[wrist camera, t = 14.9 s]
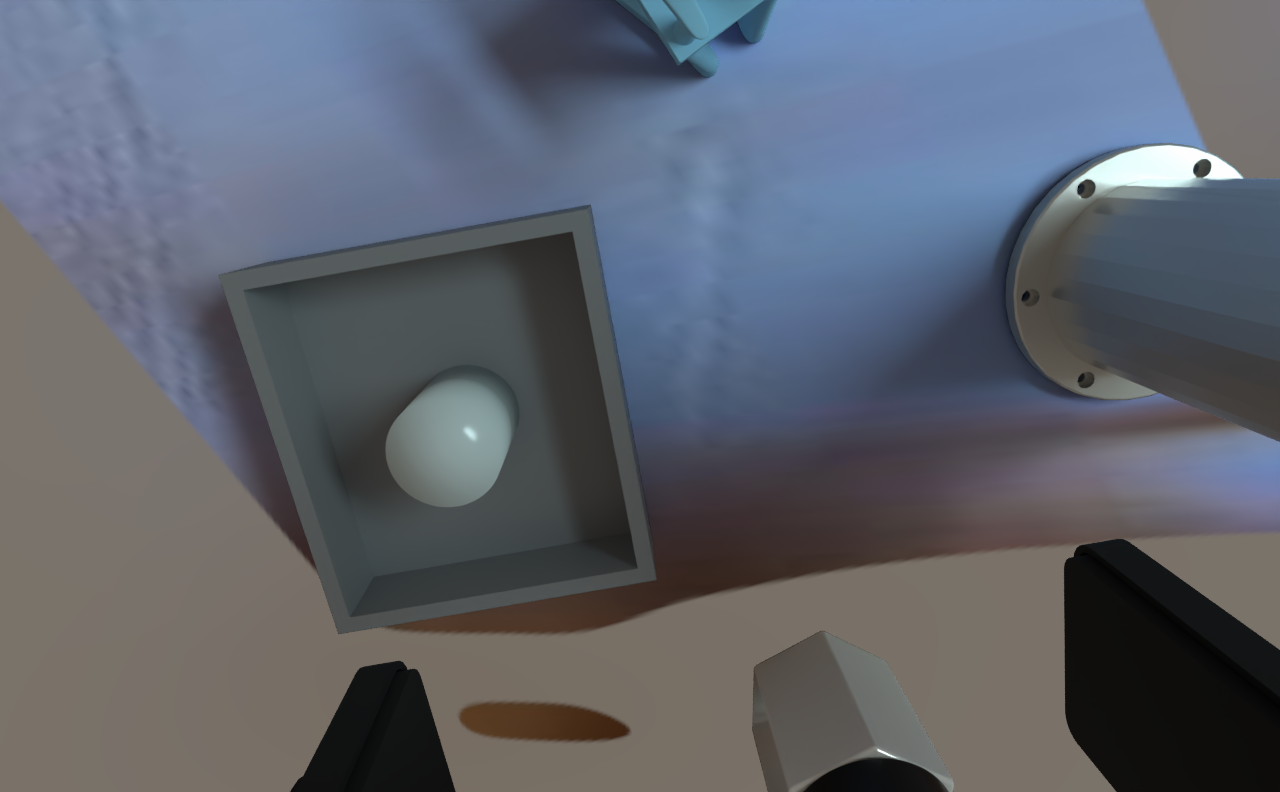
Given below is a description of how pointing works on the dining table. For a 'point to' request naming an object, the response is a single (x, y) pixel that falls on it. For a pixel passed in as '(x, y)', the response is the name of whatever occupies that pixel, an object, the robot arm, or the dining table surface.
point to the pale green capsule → (453, 437)
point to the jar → (839, 724)
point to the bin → (402, 367)
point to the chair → (700, 25)
